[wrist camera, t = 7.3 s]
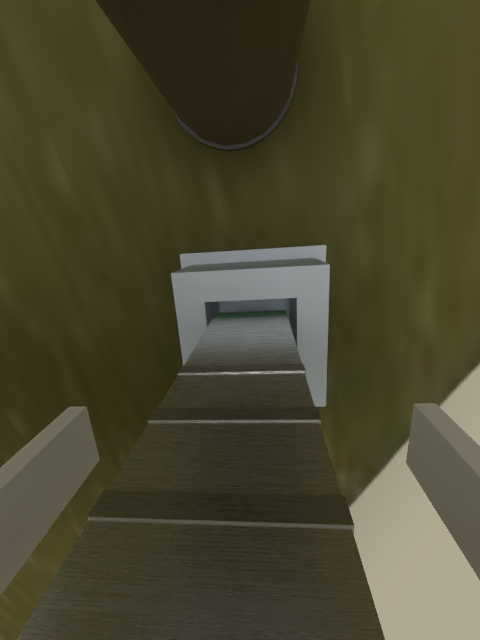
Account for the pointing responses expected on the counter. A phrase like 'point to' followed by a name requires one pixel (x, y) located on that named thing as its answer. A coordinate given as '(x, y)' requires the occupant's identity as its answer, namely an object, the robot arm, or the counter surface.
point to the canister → (217, 61)
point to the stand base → (259, 298)
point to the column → (220, 513)
